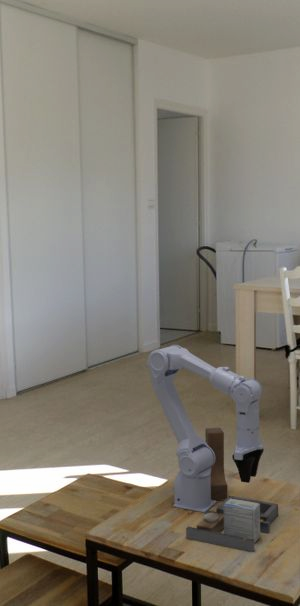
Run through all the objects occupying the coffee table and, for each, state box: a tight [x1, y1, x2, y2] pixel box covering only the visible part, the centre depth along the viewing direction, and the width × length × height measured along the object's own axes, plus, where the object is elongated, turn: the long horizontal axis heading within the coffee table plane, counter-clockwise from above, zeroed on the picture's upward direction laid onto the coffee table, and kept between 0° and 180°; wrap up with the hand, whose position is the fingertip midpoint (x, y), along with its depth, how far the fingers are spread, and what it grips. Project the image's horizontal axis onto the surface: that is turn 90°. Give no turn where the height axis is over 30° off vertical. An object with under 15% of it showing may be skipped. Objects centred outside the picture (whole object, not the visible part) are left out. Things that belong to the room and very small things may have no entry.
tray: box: [215, 495, 279, 525], centre depth 194 cm, size 13×9×3 cm
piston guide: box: [185, 510, 271, 553], centre depth 183 cm, size 17×13×3 cm
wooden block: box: [204, 427, 228, 501], centre depth 208 cm, size 9×4×18 cm, turn 6°
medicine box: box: [223, 499, 261, 544], centre depth 181 cm, size 8×4×9 cm, turn 63°
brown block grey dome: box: [196, 512, 224, 533], centre depth 185 cm, size 4×9×4 cm, turn 152°
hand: (248, 478), depth 192 cm, fingers open, 4 cm apart
